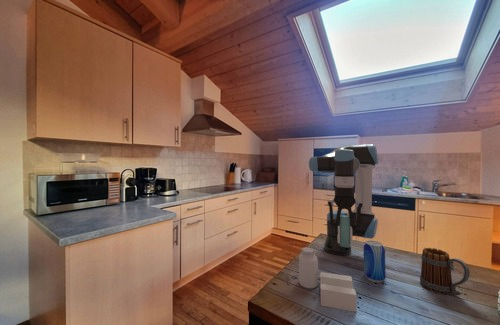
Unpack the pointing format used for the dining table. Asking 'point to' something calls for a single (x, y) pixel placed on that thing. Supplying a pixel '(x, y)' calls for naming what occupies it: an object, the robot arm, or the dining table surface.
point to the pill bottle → (308, 268)
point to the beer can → (374, 261)
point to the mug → (440, 271)
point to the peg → (344, 231)
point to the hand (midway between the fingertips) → (344, 242)
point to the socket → (338, 291)
